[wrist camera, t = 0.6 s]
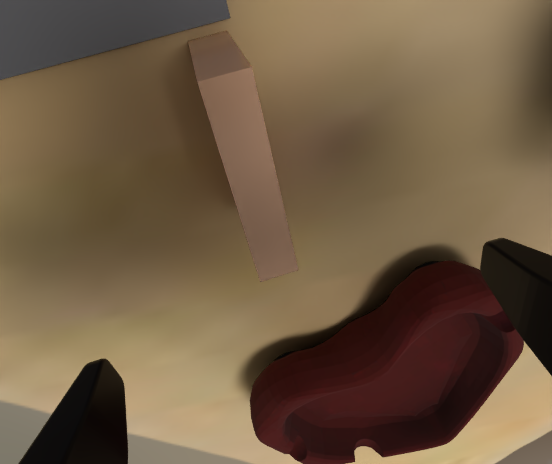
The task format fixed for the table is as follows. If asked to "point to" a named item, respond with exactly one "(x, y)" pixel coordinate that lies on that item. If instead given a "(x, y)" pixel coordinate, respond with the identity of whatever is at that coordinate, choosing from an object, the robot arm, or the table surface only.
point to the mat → (90, 27)
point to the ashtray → (391, 372)
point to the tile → (244, 150)
